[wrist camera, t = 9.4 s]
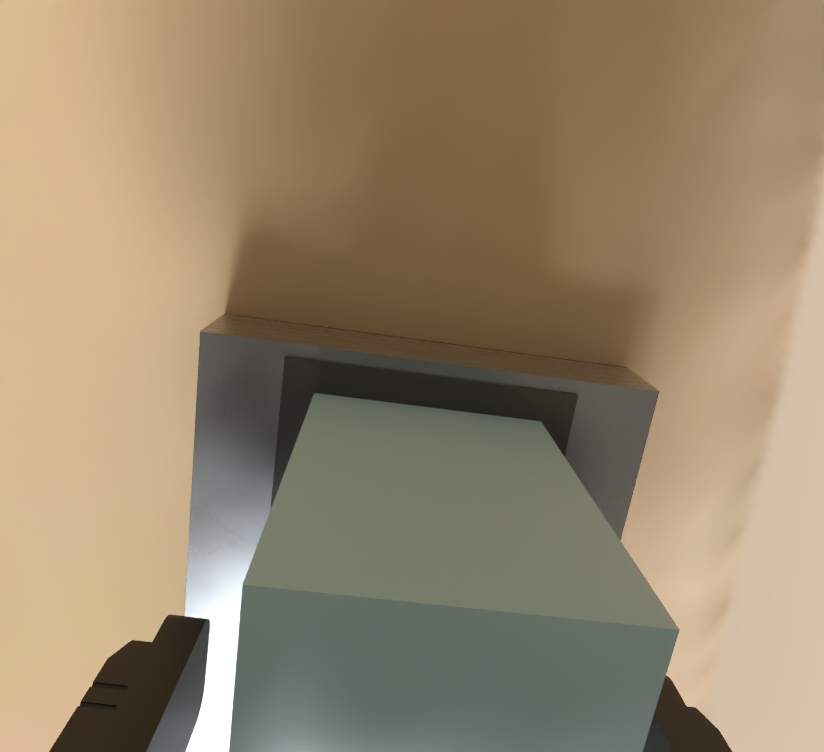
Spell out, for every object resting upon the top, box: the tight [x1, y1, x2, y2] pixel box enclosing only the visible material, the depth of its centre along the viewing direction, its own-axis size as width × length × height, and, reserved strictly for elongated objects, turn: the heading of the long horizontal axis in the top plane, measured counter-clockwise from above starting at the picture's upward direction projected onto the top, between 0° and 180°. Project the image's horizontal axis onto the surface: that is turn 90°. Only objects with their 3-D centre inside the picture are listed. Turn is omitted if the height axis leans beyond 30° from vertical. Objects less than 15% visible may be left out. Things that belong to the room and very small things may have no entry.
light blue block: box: [229, 393, 679, 752], centre depth 12 cm, size 5×8×7 cm, turn 172°
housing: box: [185, 314, 659, 752], centre depth 17 cm, size 10×18×2 cm, turn 172°
